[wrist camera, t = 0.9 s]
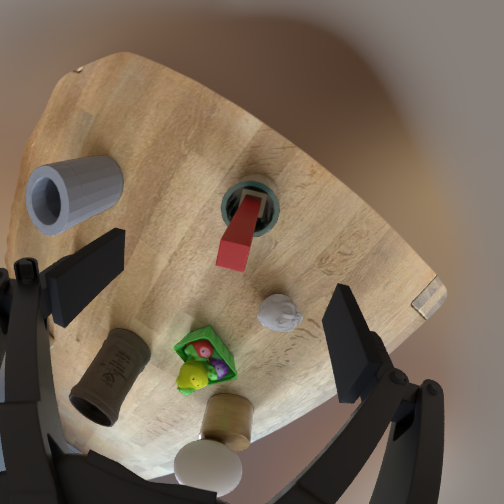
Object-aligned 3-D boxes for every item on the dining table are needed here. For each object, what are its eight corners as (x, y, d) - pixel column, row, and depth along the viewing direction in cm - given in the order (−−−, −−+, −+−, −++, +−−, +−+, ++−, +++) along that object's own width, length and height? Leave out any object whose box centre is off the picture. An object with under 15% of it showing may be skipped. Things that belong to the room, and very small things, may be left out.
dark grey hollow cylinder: (111, 317, 50) (62, 385, 32) (156, 341, 51) (116, 418, 33) (107, 356, 57) (70, 415, 39) (145, 376, 58) (114, 441, 40)
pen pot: (238, 168, 38) (227, 174, 29) (283, 179, 38) (285, 189, 29) (228, 211, 40) (216, 229, 32) (271, 222, 40) (270, 243, 32)
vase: (84, 152, 38) (26, 163, 25) (126, 158, 38) (70, 169, 25) (80, 204, 41) (26, 228, 28) (120, 214, 41) (69, 242, 28)
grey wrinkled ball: (301, 313, 46) (304, 338, 39) (261, 317, 47) (259, 343, 40) (298, 282, 44) (302, 306, 37) (255, 287, 44) (252, 311, 38)
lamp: (204, 421, 62) (185, 500, 38) (183, 390, 57) (153, 479, 34) (259, 420, 59) (251, 506, 36) (245, 388, 54) (230, 489, 31)
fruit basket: (242, 359, 51) (235, 404, 40) (206, 369, 53) (194, 411, 43) (212, 317, 47) (197, 361, 37) (174, 331, 50) (155, 371, 39)
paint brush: (246, 183, 38) (213, 228, 17) (268, 188, 38) (261, 240, 17) (241, 204, 39) (205, 271, 19) (263, 209, 39) (250, 282, 19)
